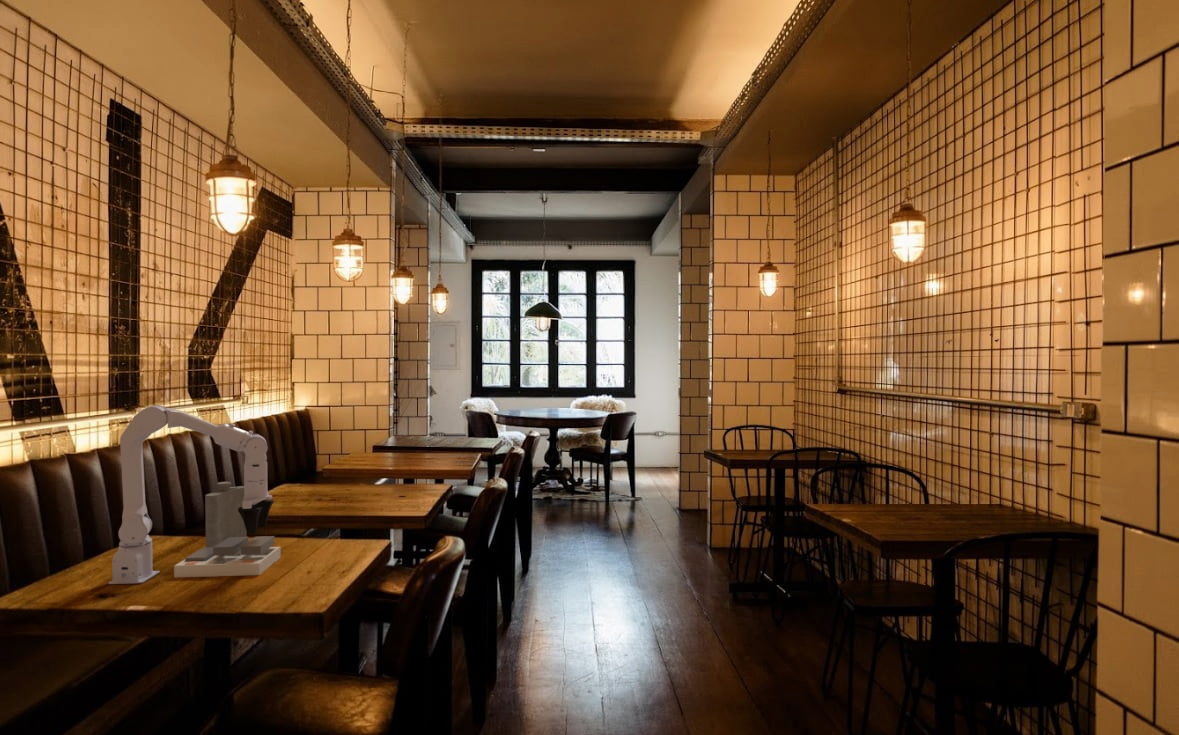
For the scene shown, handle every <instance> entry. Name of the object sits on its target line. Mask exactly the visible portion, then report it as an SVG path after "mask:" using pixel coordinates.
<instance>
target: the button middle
mask: <svg viewBox="0 0 1179 735" xmlns="http://www.w3.org/2000/svg"><path fill="white" fill-rule="evenodd" d="M248 541H249V536H246V537H229V538H227V539H226V540H224V541H223V542H221V543H219V544H218V545H216V546H214V547H213V556H220V555H234V554H235V553H237V552H238V551H240V550H241V546H243V545H244V544H245V543H247V542H248Z"/></svg>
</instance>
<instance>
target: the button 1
mask: <svg viewBox="0 0 1179 735" xmlns="http://www.w3.org/2000/svg"><path fill="white" fill-rule="evenodd" d="M212 557H213V547H206V546H205V547H204V546H203V547H202V548H200V549H198V550H195V552H193V553H191V554H190V555H188V556H186V557H185V558H184V560H185V562H189V561H207V560H209V559H210V558H212Z"/></svg>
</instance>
